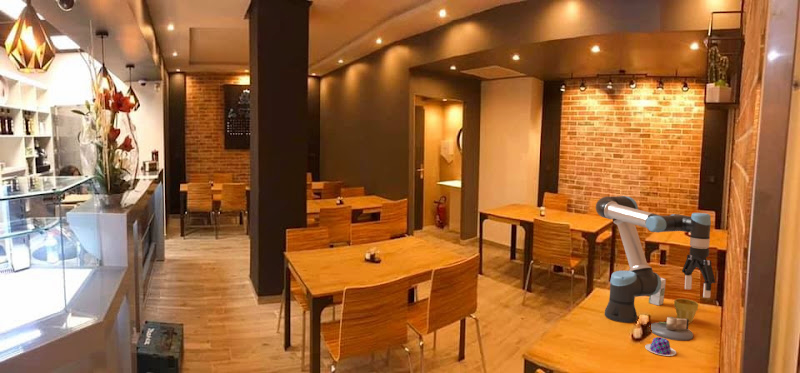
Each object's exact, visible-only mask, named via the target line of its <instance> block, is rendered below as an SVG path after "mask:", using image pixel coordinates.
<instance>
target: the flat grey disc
mask: <svg viewBox="0 0 800 373" xmlns="http://www.w3.org/2000/svg"><path fill="white" fill-rule="evenodd" d="M666 324H667V321H658V322H651V330H652V332H651V333H652V334H654V335H656V336H657V337H661V338H665V339H667V340H673V341H679V342H680V341H683V342H684V341H690V340H693V338H694V333H693V331H692V330H691V329H690V328H688V329H676V330H669V329H667V328H666Z"/></svg>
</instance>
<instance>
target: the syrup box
mask: <svg viewBox="0 0 800 373" xmlns="http://www.w3.org/2000/svg"><path fill="white" fill-rule="evenodd" d="M660 279H661V289H660V291H659V292H658V293H657V294H655V295H651V296H648V303H649V304H652V305H656V306H661V305H664V300H665V290H666V280H667V279H666V278H663V277H660Z"/></svg>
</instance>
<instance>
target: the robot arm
mask: <svg viewBox="0 0 800 373" xmlns="http://www.w3.org/2000/svg"><path fill="white" fill-rule="evenodd" d="M595 211H596V213H597V215H598V216H600V217H601V218H604V219H608V220H612V221H613V224H614V225H616V226H617V228H618V232H619V234H620V239H621V242H622V245H623V248H624V252H625V256H626V259H627V262H628V265H629V266H628V267H629V270H615V271H614V272H612V273H611V277H610V280H609V285H610V286H609V299H608V302H607V305H606V307H605V309H604V316H605V318H606V319H609V320H612V321H615V322H620V323H636V322H637V321H636V320H638V313H637V310H636V306H635V298H636V297H649V296H651V295H655V294H657V293H658V292H659V291H660V289H661V279H660V278H661V276H660V275H659V274H658V273H656V272H654V270H653V267H652V266H650V265H649V264H648V262H647V259H646V255H645V253H644V249H643V245H642V243H641V239H640V236H639V234H638V230H637V226H638V227H641V228H645V229H647V230H648V231H649V232H651V233H666V232H667V233H669V232H684V233H689V234H690V237H689V238H690V239H689V246H690V247H689V254H687V256H686V260H685V263H684V265H683V268H682V270H681V273H684V290H692V286H693V285H692V284H693V282H692V281H693V272H694V271H695V269H696V268H697V269H698V270H700V273H701V275H702V277H703V280H704V282H703V293H702V298H707V299H708V298H709V299H710V298H711V294H712V292H711V291H712V284H715V283H716V278H715V274H714V271H713V267H712V260H707V257H709V256H710V249H709V248H710V241H711V240H710V239H711V236H710V235H711V226H712V222H711V221H712V220H711V214H709V213H705V212H692V213H691V216H689V215H683V214H677V213H675V214H674V213H673V214H670V215H660V214H656V213H654V212H649V211H646V210H641V209H639V207H638V203H637V201H636V200H635V199H634V198H633V197H630V196H627V195H626V196H625V195H620V196H609V195H608V196H603V197H601V198H600V199H599V200H597V202H596V203H595Z"/></svg>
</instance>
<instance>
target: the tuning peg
mask: <svg viewBox="0 0 800 373" xmlns="http://www.w3.org/2000/svg"><path fill="white" fill-rule="evenodd" d="M666 322H667V324H666V328H667V329H669V330H676V329H689V325H690V322H689V320H688V319H677V317H673V316H667V317H666Z"/></svg>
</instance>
